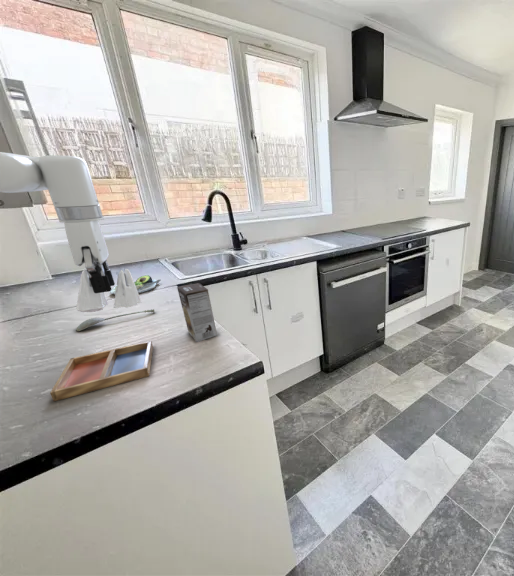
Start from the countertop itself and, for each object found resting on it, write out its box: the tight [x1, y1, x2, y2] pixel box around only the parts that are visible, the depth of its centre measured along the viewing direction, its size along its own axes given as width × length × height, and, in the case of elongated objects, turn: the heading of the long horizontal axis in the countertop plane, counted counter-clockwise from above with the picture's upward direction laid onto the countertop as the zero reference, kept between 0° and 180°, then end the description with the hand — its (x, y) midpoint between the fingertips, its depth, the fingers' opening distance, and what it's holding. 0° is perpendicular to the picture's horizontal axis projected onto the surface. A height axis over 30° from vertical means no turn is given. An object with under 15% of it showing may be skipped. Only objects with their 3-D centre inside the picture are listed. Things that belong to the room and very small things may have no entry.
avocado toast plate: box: [109, 274, 162, 295], centre depth 140 cm, size 19×18×5 cm
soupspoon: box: [75, 308, 155, 332], centre depth 110 cm, size 22×3×7 cm
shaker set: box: [75, 268, 142, 313], centre depth 77 cm, size 12×4×11 cm, turn 125°
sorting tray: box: [49, 340, 154, 402], centre depth 81 cm, size 18×17×2 cm
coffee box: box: [176, 282, 218, 343], centre depth 98 cm, size 9×6×16 cm
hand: (104, 288), depth 77 cm, fingers closed on shaker set, 4 cm apart
